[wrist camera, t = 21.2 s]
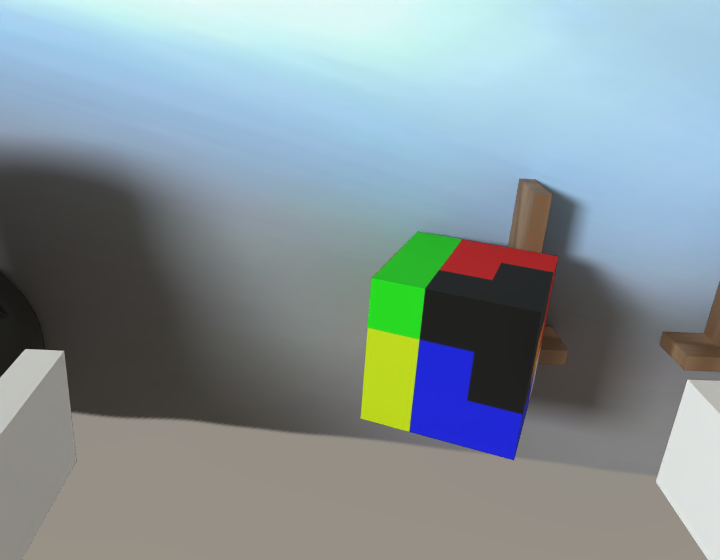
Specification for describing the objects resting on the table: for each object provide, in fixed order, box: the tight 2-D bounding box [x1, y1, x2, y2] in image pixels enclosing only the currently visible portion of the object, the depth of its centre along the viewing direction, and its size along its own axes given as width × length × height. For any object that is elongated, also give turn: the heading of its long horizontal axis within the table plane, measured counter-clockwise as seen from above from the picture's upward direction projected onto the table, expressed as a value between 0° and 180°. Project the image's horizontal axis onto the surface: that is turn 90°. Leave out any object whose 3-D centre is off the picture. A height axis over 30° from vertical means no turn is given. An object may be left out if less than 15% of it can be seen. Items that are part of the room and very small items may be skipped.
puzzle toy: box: [361, 232, 558, 460], centre depth 44 cm, size 10×10×10 cm
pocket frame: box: [508, 179, 720, 372], centre depth 49 cm, size 18×13×4 cm
